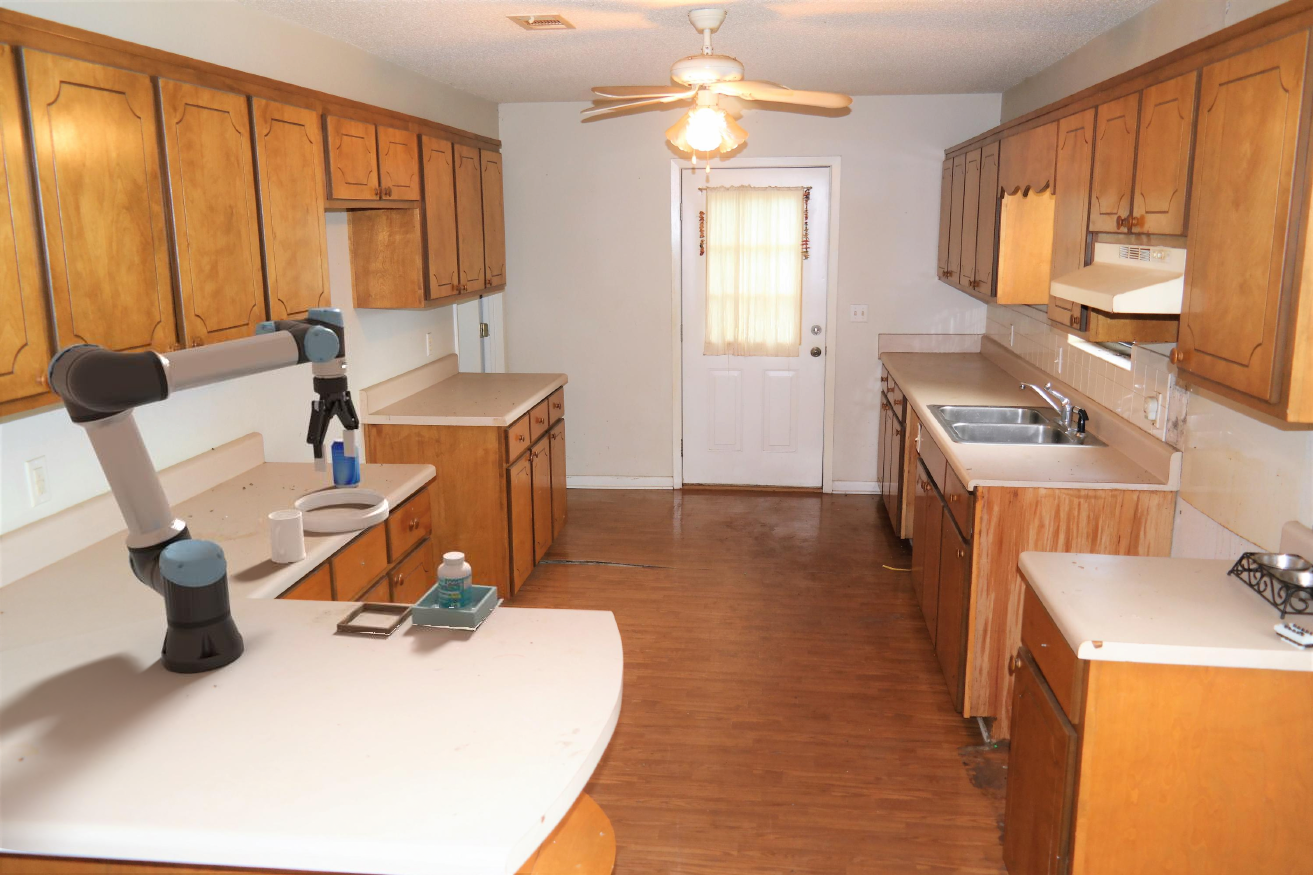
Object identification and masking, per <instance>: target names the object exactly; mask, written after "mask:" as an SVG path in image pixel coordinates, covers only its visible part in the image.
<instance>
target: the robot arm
mask: <svg viewBox="0 0 1313 875" xmlns="http://www.w3.org/2000/svg"><path fill="white" fill-rule="evenodd" d="M345 343H346V342H345V325H344V317H343V313H342V310H341V309H339V308H337V307H327V306H326V307H323V306H322V307H314V308H309V309H308V311H307V315H306V317H305V318H297V319H283V320H269V321H262V322H259V323H258V324H257V325H256V327H255V330H254V335H253V336H248V337H243V338H238V339H233V340H227V341H222V342H218V343H217V342H215V343H211V344H206V345H201V346H196V347H190V348H186V349H180V350H174V351H169V352H164V353H159V352H157V351H155V350H153V349H150V350H146V351H141V352H139V351H137V352H121V351H120V352H119V351H113V350H109V349H106V348H105V347H103V346H101V345H98V344H93V343H77V344H71V345H68V346H65V347H64V348H62V349H60V350H59V351H57V353H55V355H54V356H53V357H52V358H51V359H50V360H51V361H50V362H49V364H48V366H47V375H46V376H47V380H48V384H49V386H50V388H51V390H52V391H53V392H54V393H55V394H56V395H57V396H58V397H60V398H61V400H62V402H63V404H64V407H65V408H66V411H67V414H68V416H69V418H70V420H71V423H73V424H75V425H77V426H79V427H82V428H84V430H85V432H86V434H87V436H88V439H89V441H90V444H91V445H92V448H93V450H94V452H95V455H96V457H97V460H98V461H99V464H100V466H101V469H102V471H103V473H104V476H105V478H106V481H107V482H108V485H109V487H110V489H111V491H112V494H113V497H114V499H115V501H116V503H117V506H118V508H119V510H120V512H121V514H122V517H123V519H124V522H125V525H126V527H127V529H128V531H129V533H128V535H127V537H126V538H125V546H126V547H127V550H128V562H129V567H130V569H131V571H132V573H133V574H134V577H136V579H138V580H139V582H141V583H142V584H144V585H145V586H147V587H149V588H150V589H152V590H153V591H155V592H156V593H157V594H159V595H160V596H161V597H163V600H164V607H165V615H166V622H167V623H166V624H167V628H166V632H165V636H164V639H163V643H162V644H163V645H162V649H161V653H160V655H161V656H160V657H161V663H162V664H161V665H162V666H163V667H164V668H165V669H167V670H168V671H171V672H174V673H182V674H184V673H186V674H187V673H188V674H189V673H190V674H191V673H201V672H207V671H211V670H215V669H217V668H220V667H221V668H222V667H224V666H225V665H228V664H230V663H232V662H234V661H235V660H236V659H238V658H239V657H241V655H242V654H243V653H244V651H245V647H244V646H245V644H244V638H243V636H242V634H241V633H240V631H239V629H238V627H237V624H236V623H235V620H234V618H233V617H232V613H231V612H232V611H231V602H230V600H231V599H230V594H229V593H230V592H229V583H228V581H229V580H228V573H227V572H228V571H227V564H228V563H227V560H226V557H225V552H224V550H223V547H221V546H220V544H218V543H217V542H215V541H211V540H208V539H204V540H202V539H201V538H200V539H199V538H198V539H197V538H192V536H191V533H190V529H188V525H187V524H186V521H185V520H184V519H183V518H180V517H176V516H175V515H174V513H173V510H172V508H171V505H170V502H169V500H168V498H167V495H166V493H165V490H164V488H163V486H162V483H161V481H160V479H159V475H158V474H157V471H156V469H155V466H154V464H153V461H152V459H151V456H150V453H149V450H148V449H147V446H146V444H145V442H144V439H143V437H142V435H141V432H140V430H139V427H138V424H137V422H136V420H135V417H134V415H133V412H134V410H135V408H137V407H140V406H145V405H149V404H154V403H157V402H162V401H166V400H168V399H169V398H170V396H171V394H172V393H177V392H181V391H186V390H190V389H195V388H198V387H203V386H208V385H211V384H219V383H223V382H225V381H226V382H227V381H230V380H235V379H239V378H243V377H249V376H252V375H258V374H262V373H265V372H266V373H267V372H272V371H275V370H279V369H280V370H281V369H284V368H289V367H293V366H298V365H302V364H308V363H311V373H312V375H313V377H312V385H313V392H314V393H316V394H318V396H319V399H318V400H314V399H313V400H311V412H310V419H309V423H308V427H307V428H308V429H307V435H306V441H305V442H306V444H308V445H312V446H313V447H312V449H313V459H314V471H315V472H323V473H327V472H328V471H329V468H328V455H327V454H328V453H327V444H326V443H325V439H326V435H327V431H328V428H329V427H330V426H329V425H330V422H331V420H332V419H334V416H337V418H338V420H339V421H340V423H341V425H342V426H343V428H344V429H343V430H342V437H343V443H344V456H348V457H355V456H356V445H355V441H356V434H355V433H356V432H355V430H359V429H360V420H359V417H358V414H357V410H356V408H355V406H354V402H353V400H352V395H351V391H350V390H349V386H348V385H349V384H348V376H347V375H346V373H347V365H348V363H347V360H346V358H347V357H346V344H345Z"/></svg>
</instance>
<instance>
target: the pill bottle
mask: <svg viewBox="0 0 1313 875" xmlns="http://www.w3.org/2000/svg"><path fill="white" fill-rule="evenodd" d="M442 558H443V559H442V561H443V562H442V563H441V564H439V566H438V568H437V582H438V598H439V608H443V609H454V610H466V611H471V609H472V585H473V584H472V567H471V566H470V564H469V563H468V562H466V561H465V559H466V558H465V553H463V552H459V551H449V552H446V553H445V554H443V556H442ZM449 607H454V608H449Z"/></svg>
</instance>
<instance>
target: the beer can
mask: <svg viewBox="0 0 1313 875" xmlns="http://www.w3.org/2000/svg"><path fill="white" fill-rule="evenodd" d="M355 445H356V456H355V457H348V456H344V443H343V436H339V437H335V438H334V439H333V442H332V443H331V445H330V449H331V450H330V452H331V464H332V476H333V477H332V478H333V484H334V485H335V487H336V489H342V488H357V487H358V486H359V484H360V483H361V470H360V469H361V468H360V456H359V455H360V454H359V444H358V442H357V441H356V440H355Z"/></svg>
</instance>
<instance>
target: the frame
mask: <svg viewBox="0 0 1313 875" xmlns="http://www.w3.org/2000/svg"><path fill="white" fill-rule="evenodd" d="M412 606H413V605H402V604H390V603H381V602H379V603H378V602H370V601H369V602H366V601H362V602H361V603H360V604H359V605H358V606H357V607H355V609H353V610H352V611H351V612H349V614H347V615H346V616H345V617H344V618H343V619H341V620H340V621H339V622H338V623H337V624H336V631H337V630H341V631H340V632H343V631H351V632H350V633H354V632H373V633H374V632H375V633H385V634H390V633H391V632H392V631H393V630H394V629H395V628H397V626H398V625H400V624H401V623H402V622H403V621H404V620H405V619H406V620H407V619H409V618H410V617H411V616H412V609H411V607H412ZM365 610H368V611H381V612H391V613H402V614H401V615H399V617H398V618H397V619H395V621H394V622H393V623H391V624H390V625H389V627H382V626H381V627H380V626H368V625H359V624H350V623H351V622H352V621H353V620H354V619H355V618H357V617H358V616H359V615H360V614H362V612H363V611H365ZM406 620H405V621H406ZM405 621H404V622H405ZM349 622H350V623H349ZM404 622H403V623H404ZM348 623H349V624H348ZM403 623H402V624H403ZM402 624H401V625H402ZM401 625H400V626H401ZM397 629H398V628H397Z"/></svg>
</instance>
